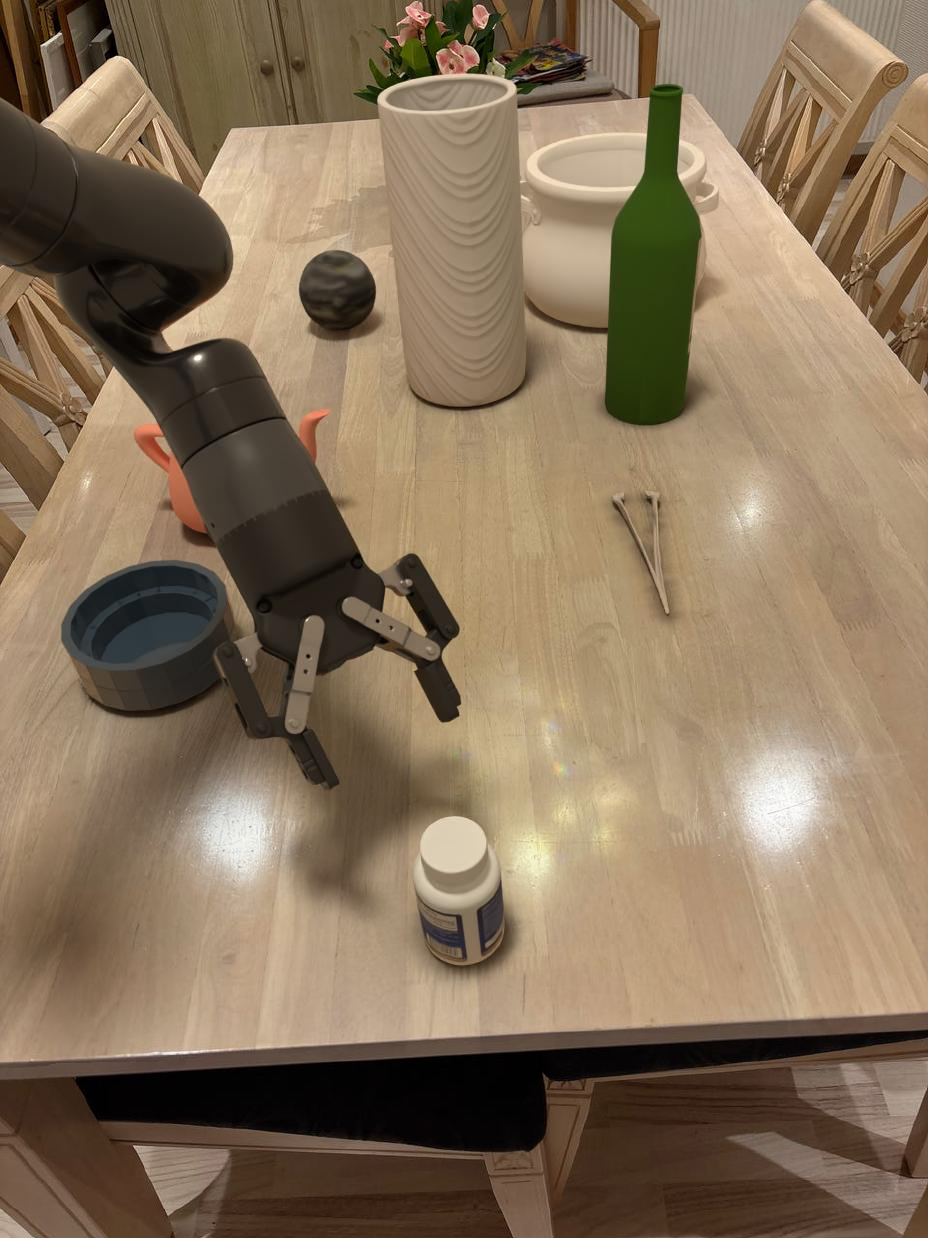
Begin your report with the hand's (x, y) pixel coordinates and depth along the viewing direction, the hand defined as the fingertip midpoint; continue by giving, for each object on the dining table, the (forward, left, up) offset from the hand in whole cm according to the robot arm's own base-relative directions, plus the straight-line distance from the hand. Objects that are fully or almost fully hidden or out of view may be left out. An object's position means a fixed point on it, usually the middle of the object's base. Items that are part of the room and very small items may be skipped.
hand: (393, 752), depth 59 cm
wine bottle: (+54, +35, -12) cm, 66 cm away
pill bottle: (0, -6, -12) cm, 14 cm away
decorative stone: (+38, +76, -12) cm, 86 cm away
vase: (+42, +53, -12) cm, 69 cm away
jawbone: (+36, +15, -12) cm, 41 cm away
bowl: (-6, +31, -12) cm, 34 cm away
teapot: (+10, +46, -12) cm, 49 cm away
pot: (+70, +59, -12) cm, 92 cm away
